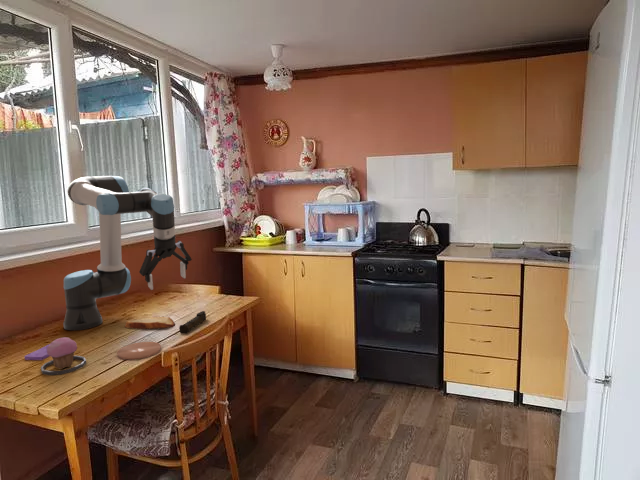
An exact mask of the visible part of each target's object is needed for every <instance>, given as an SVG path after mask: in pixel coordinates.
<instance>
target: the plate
mask: <svg viewBox="0 0 640 480" xmlns="http://www.w3.org/2000/svg"><path fill="white" fill-rule="evenodd" d="M161 351H162V345H161V343H159V342H156V341H140V342H134V343H130V344H126V345H124V346H123V347H121V348H119V349H118V350H117V351H116V356H117V358H118V359H120V360H127V361H129V360H130V361H131V360H133V361H134V360H142V359H146V358H149V357H152V356H154V355H157V354H158V353H160V352H161Z"/></svg>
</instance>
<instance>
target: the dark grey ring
mask: <svg viewBox="0 0 640 480" xmlns="http://www.w3.org/2000/svg"><path fill="white" fill-rule="evenodd" d="M75 360H76V361H82V362H80V363H79V364H76V365H75V366H71V367H69V368H63V369H61V370H60V369H59V370H48V369H46V368H47V367H49V366H51V365H54V362H53V359H52V360H49V361H46V362H45V363H44V364H42V365H41V367H40V371H41V373H42V375H46V376H58V375H60V376H61V375H64V374H68V373H73V372H76V371H77V370H79V369H81V368H84V366H86V364H87V359H86V357H85V356H82V355H73V361H75Z"/></svg>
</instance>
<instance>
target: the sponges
mask: <svg viewBox="0 0 640 480" xmlns="http://www.w3.org/2000/svg"><path fill="white" fill-rule="evenodd" d="M50 344H51V343H50ZM50 344H47V345H45V346H43V347H40V348H39V349H37V350H34V351H32V352H30V353H28V354H26V355H24V360H26V361H29V360H30V361H31V360H32V361H43V360H45V359H47V358H49V357H50V356H49V355H48V354H47V347H48V346H49V345H50Z"/></svg>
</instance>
